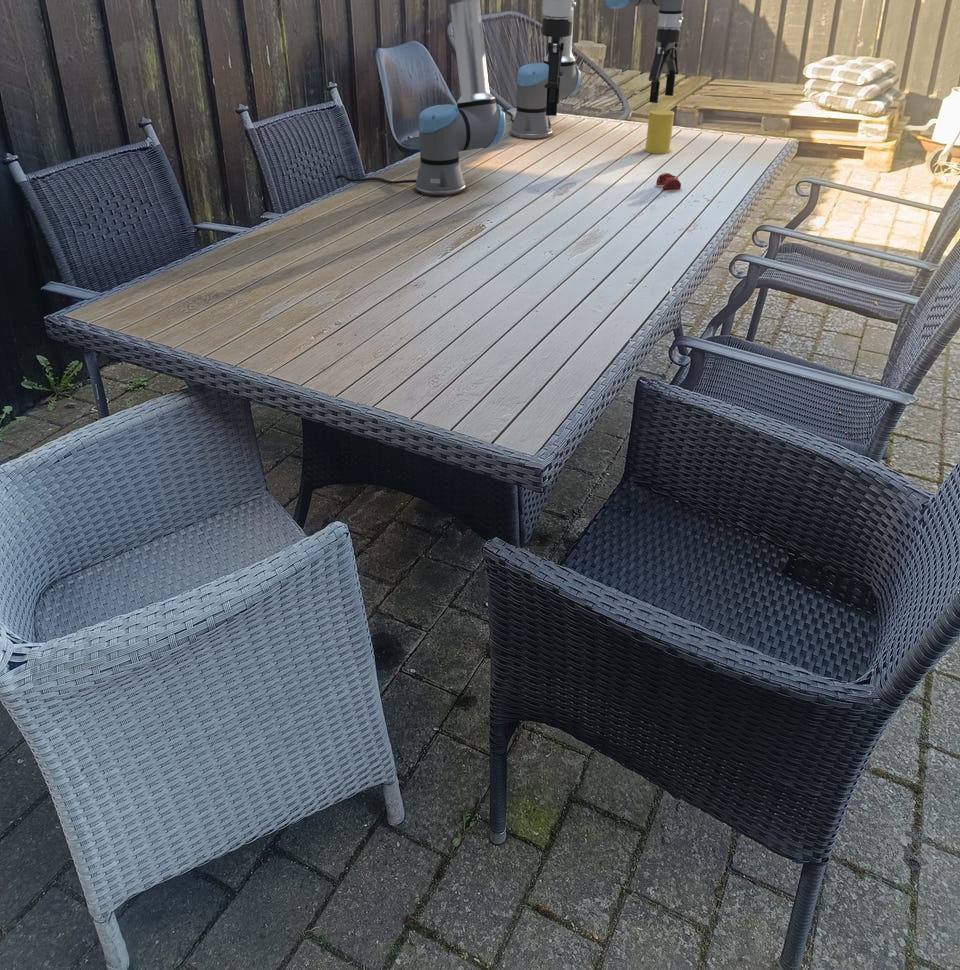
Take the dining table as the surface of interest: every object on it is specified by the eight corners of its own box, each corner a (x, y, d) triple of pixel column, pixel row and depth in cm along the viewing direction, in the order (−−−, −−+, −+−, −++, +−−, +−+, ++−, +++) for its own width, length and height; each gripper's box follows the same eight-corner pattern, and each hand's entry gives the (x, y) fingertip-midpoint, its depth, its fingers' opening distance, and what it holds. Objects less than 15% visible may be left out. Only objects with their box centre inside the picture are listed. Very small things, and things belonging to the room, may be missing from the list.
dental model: (672, 169, 261) (683, 176, 255) (671, 183, 263) (682, 190, 257) (655, 171, 260) (666, 178, 254) (654, 185, 262) (665, 192, 256)
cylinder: (648, 154, 292) (653, 115, 285) (642, 147, 299) (646, 109, 292) (672, 153, 293) (677, 114, 286) (665, 147, 300) (670, 109, 292)
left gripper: (571, 25, 198) (565, 121, 211) (573, 10, 218) (568, 99, 230) (539, 24, 199) (535, 120, 211) (544, 10, 218) (540, 98, 231)
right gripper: (665, 33, 262) (657, 106, 274) (693, 24, 279) (685, 93, 291) (643, 31, 265) (636, 104, 277) (672, 22, 282) (664, 91, 294)
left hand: (552, 109), depth 221 cm, fingers open, 13 cm apart
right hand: (661, 99), depth 284 cm, fingers open, 13 cm apart
